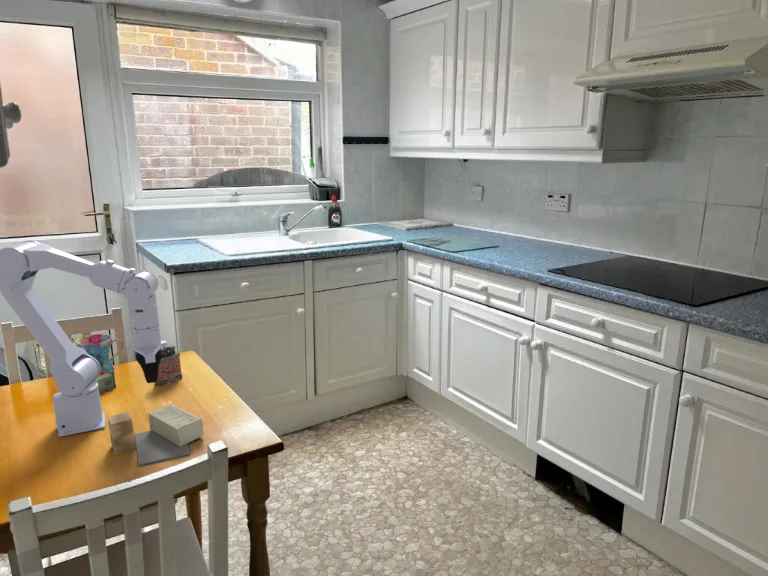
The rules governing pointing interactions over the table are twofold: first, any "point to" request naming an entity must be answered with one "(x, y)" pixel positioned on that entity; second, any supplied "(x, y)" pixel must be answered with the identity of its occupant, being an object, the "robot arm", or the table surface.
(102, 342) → the mug
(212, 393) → the table surface
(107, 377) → the medication box
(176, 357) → the reddish brown pouch
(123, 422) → the oak block
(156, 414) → the skincare box
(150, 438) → the plate
